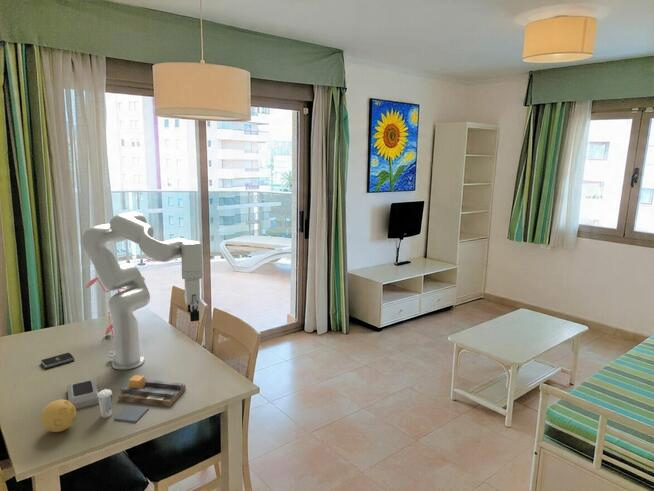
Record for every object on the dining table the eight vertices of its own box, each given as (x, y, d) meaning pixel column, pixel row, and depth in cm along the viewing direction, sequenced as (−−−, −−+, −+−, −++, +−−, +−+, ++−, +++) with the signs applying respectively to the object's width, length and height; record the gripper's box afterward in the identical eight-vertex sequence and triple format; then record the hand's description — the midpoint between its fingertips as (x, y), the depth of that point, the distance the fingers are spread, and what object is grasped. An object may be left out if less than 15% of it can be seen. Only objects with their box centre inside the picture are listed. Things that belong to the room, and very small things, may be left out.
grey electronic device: (68, 402, 155) (66, 382, 168) (69, 411, 156) (67, 391, 168) (99, 394, 160) (95, 376, 173) (100, 404, 161) (96, 385, 173)
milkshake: (99, 411, 156) (97, 385, 154) (115, 411, 156) (113, 384, 154) (94, 419, 151) (91, 392, 149) (110, 418, 152) (108, 392, 150)
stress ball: (38, 437, 143) (42, 431, 136) (39, 406, 147) (42, 398, 140) (74, 431, 149) (79, 424, 142) (73, 401, 153) (78, 393, 146)
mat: (113, 420, 151) (113, 418, 151) (127, 406, 159) (127, 405, 159) (135, 422, 150) (135, 421, 150) (148, 409, 158) (148, 407, 158)
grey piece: (118, 400, 163) (117, 391, 162) (137, 384, 174) (136, 375, 173) (170, 406, 160) (169, 397, 159) (185, 389, 171) (185, 380, 171)
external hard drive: (41, 364, 188) (40, 360, 188) (70, 356, 196) (69, 352, 196) (45, 370, 184) (45, 365, 183) (75, 361, 191) (74, 357, 191)
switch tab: (129, 389, 166) (128, 379, 165) (135, 384, 169) (134, 374, 169) (139, 390, 165) (139, 381, 164) (145, 385, 169) (144, 376, 168)
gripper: (180, 268, 176) (181, 309, 180) (183, 280, 161) (185, 325, 164) (199, 267, 179) (200, 307, 183) (205, 279, 163) (206, 323, 167)
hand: (193, 316), depth 174 cm, fingers open, 9 cm apart
